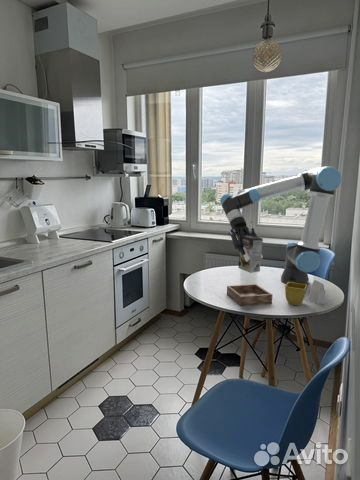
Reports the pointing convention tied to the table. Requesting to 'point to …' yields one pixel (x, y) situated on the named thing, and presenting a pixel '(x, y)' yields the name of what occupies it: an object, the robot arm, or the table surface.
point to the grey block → (317, 292)
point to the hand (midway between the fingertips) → (254, 259)
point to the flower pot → (295, 293)
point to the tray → (249, 295)
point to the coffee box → (251, 253)
